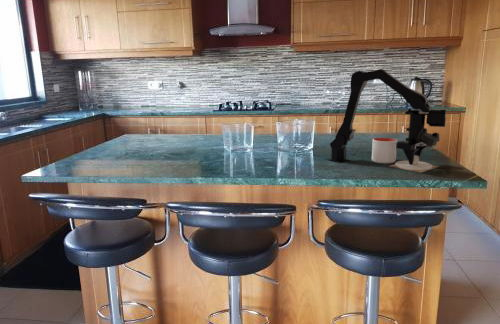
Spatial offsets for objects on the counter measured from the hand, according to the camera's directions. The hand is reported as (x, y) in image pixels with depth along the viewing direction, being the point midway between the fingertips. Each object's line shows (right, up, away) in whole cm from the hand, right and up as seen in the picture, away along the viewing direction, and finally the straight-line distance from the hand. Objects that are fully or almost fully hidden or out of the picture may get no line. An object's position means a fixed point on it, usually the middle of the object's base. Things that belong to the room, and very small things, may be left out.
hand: (413, 163), depth 160 cm
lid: (0, -1, 0) cm, 1 cm away
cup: (-9, 0, +11) cm, 14 cm away
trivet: (0, -2, 0) cm, 2 cm away
